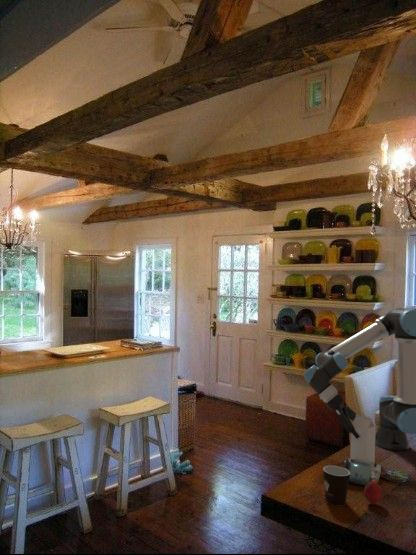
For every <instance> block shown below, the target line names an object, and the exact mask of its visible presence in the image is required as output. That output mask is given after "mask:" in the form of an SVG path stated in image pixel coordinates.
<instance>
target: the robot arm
mask: <svg viewBox="0 0 416 555" xmlns="http://www.w3.org/2000/svg"><path fill="white" fill-rule="evenodd" d="M392 335H394V339H395V340H396V341H397V369H396V370H397V373H396V375H397V376H396V378H397V379H396V380H397V382H396V385H397V386H396V395H388V394H387V395H383V394H382V395H381V396H380V397H379V400H378V401H379V403H378V405H379V407H378V428H377V431H376V432H375V446H378V447H380V448H383V449H387V450H393V451H407V450H409V449H410V442H409V439H408V435H415V434H416V309H415V308H399V307H398V308H394V309H391V310H390V311H388V312H387V313H384V314H383V315H382V316H379V317H378V318H376V319H375V320H374V323H372V324H371V325H369V326H367V327H366V328H364V329H362V330H360V331H359V332H357V333H355V334H353V335H352V336H351V337H349V338H347V339H345V340H344V341H342V342H340V343H339V344H337V345H335V346H333V347H332V348H330V349H328V350H327V351H325V352H319V353H318V354H316V356H315V364H313V365H312V366H311V367H309V368H307V370H306V371H304V372H303V378H304V379H305V382H307V383H308V385H309V386H310V387H311V388H312V389H313V391H314V392H315V393H316V394H317V395H318V396H319V399H320V400H322V401H323V403H326V404H325V405H326V407H328V409H329V410H330V411H333V410H335V411H334V414H335V415H336V416H337V418H338V419H339V421H340V422H341V424H342V425H343V427H344V429H345V430H346V432H347V434H350V435H351V434H352V435H353V436H354V437H355V439H356V440H357V441H358V442H359V443H360V445H361V446H363V445H365V444H366V443H367V441H366V440H365V439H364V437H363V436H362V435H361V434H360V433H359V431H358V430H357V429H355V428H354V426H353V424H352V423H353V421H354V419H355V417H356V414H357V413H356V412H355V411H354V410H353V409H352V408H351V407H350V406H349V405H348V404H347V403H346V402H344V401H345V398H344V397H343V396H342V394H341V393H338V390H337V388H335V386H334V385H333V384H332V383H331V382H330V381H332V380H333V379H334V378H335V377H337V376H338V375H339V374H341V373H342V372H344V370H345V369H346V368H347V367H348V366H349V362H348V361H349V360H348V359H349V358H351V357H352V356H354V355H356V354H357V353H359V352H361V351H362V350H364V349H366V348H367V347H369V346H370V345H373V344H374V343H376V342H377V341H379V340H381V339H382V338H388V337H390V336H392ZM343 402H344V403H343ZM407 434H408V435H407Z"/></svg>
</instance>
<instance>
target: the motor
mask: <svg viewBox="0 0 416 555" xmlns="http://www.w3.org/2000/svg"><path fill="white" fill-rule="evenodd" d="M342 468H345V469H347V470H349V472H350V477H349V483H350V484H356V485H359V486H366V485H367V484H368V483H370V482H372V480H376V483H377V484H378V482H379V480H380V477H381V475H380V474H382V468H381V464H376V466H375V461H374V462H373V461H369V460H364V459H359V458H356V459H352V458H351V459H350V458H345V459H344V460H343V465H342Z"/></svg>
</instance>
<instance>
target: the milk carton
mask: <svg viewBox="0 0 416 555" xmlns="http://www.w3.org/2000/svg"><path fill="white" fill-rule="evenodd" d="M372 419H373V418H372V417H370V416H366V415H361V414H358V413H356V417H355V419H354V421H352V424H353V426H354V428H355V429H357V430H358V431H359V433H360V434H361V435H362V436H363V437H364V439H365V440H366V441H367V443H366V444H365V445H363V446H361V445H360V443H359V442H358V441H357V440H356V439H355V437H354V436H353V435H352V434H351V433H350V451H349V453H350V454H349V457H350V458H349V459H351V458H352V459H356V458H359V459H364V460H369V461H373V462H374V463H375V453H376V444H375V435H376V425H375V423H374V422H373V420H372Z"/></svg>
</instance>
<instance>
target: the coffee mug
mask: <svg viewBox="0 0 416 555" xmlns="http://www.w3.org/2000/svg"><path fill="white" fill-rule="evenodd" d="M322 468H323V469H322V472H323V484H324V487H323V488H324V498H325V502H326V501H327V502H328V503H327V502H326V503H327V504H329V503H330V504H329V505H331V504H333V505H332V506H335V505H343V506H345V505H346V501H347V495H348V490H349V483H350V482H349V477H350V472H349V470H347V469H345V468H343V466H342V467H341V466H337V465H326V466H324V467H322ZM344 504H345V505H344Z"/></svg>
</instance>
